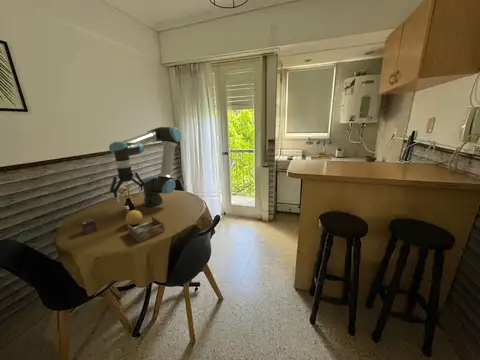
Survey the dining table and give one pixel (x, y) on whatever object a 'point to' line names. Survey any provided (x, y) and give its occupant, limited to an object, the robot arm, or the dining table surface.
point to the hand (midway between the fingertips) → (130, 198)
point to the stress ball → (134, 217)
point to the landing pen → (146, 229)
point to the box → (88, 226)
